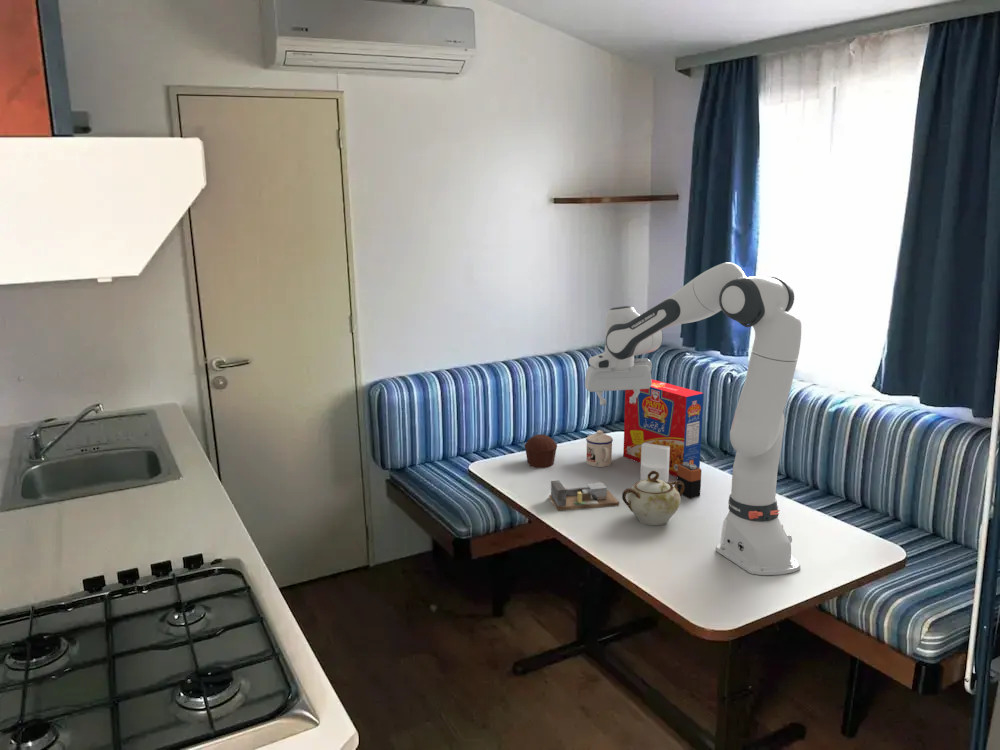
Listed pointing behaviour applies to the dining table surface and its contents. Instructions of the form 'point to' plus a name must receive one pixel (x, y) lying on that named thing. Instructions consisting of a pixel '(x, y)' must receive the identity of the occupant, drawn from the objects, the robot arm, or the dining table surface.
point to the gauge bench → (568, 498)
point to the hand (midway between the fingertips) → (617, 404)
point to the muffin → (540, 451)
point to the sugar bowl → (653, 499)
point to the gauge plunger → (595, 491)
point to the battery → (689, 479)
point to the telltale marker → (579, 497)
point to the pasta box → (664, 423)
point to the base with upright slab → (654, 461)
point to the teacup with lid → (599, 449)
